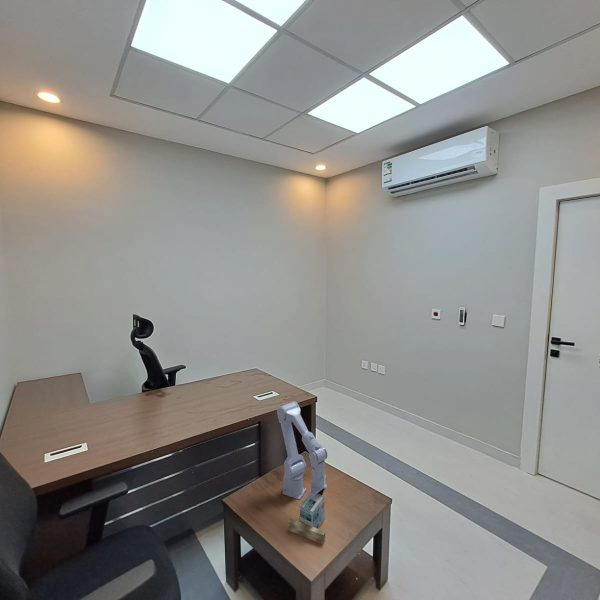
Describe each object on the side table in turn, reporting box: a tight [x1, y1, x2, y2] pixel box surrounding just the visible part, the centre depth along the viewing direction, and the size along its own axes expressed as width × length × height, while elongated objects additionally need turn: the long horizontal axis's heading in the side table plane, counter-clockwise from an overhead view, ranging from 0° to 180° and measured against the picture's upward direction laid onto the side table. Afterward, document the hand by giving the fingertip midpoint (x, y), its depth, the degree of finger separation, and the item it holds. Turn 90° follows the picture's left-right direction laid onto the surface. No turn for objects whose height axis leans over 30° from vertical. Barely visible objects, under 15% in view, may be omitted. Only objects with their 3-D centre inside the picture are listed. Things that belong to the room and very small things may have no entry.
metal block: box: [287, 517, 326, 545], centre depth 131 cm, size 16×2×4 cm, turn 64°
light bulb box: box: [299, 493, 325, 529], centre depth 136 cm, size 11×7×11 cm, turn 148°
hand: (318, 502), depth 142 cm, fingers closed
